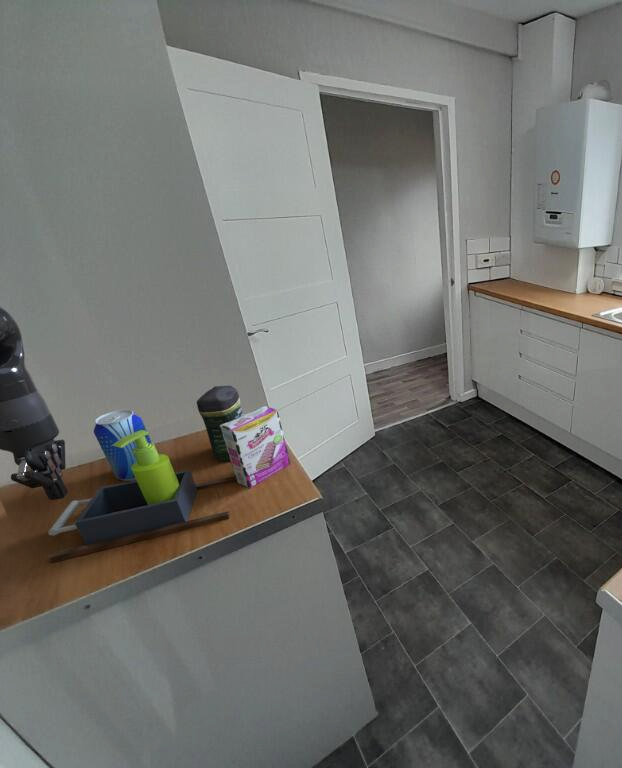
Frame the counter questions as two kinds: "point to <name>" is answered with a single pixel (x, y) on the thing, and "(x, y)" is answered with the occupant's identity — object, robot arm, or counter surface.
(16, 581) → the counter surface
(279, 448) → the candy bar box
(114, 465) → the beer can
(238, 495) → the counter surface
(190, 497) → the tray
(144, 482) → the soap dispenser
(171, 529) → the rails
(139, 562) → the counter surface
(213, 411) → the coffee jar
